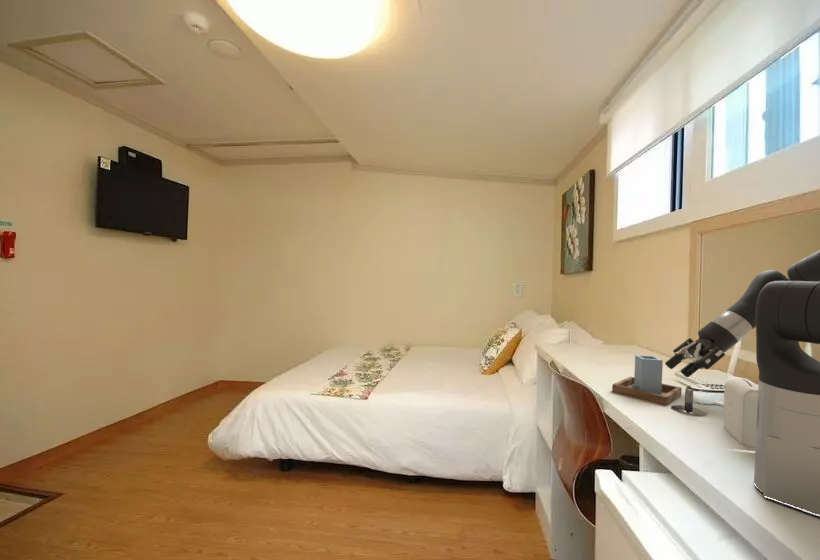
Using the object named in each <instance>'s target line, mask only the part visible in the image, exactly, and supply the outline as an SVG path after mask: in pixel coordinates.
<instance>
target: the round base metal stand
mask: <svg viewBox="0 0 820 560" xmlns="http://www.w3.org/2000/svg"><path fill="white" fill-rule="evenodd" d="M684 392H685V393H684V405H681V404H673V405H670V409H671V410H672V411H674V412H677V413H679V414H683V415H686V416H691V417H706V416H708V413H707V412H706V411H704V410H702V409H700V408H696V407H693V406H694V389H692V388H684Z"/></svg>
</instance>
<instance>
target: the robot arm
mask: <svg viewBox="0 0 820 560" xmlns="http://www.w3.org/2000/svg"><path fill="white" fill-rule="evenodd" d="M786 274H787V276H786V275H785V274H783V273H782V272H780V271H778V270H777V269H767V270H764V271H761V272H760V273H758V274H757V275H756V276H755V277H754V278H753V279H752V281H751V282H750V284H749V286H748V287H747V288H746V291H745V292H744V293H743V295H742V296H741V297H740V298H739V299H738V300H736V302H735V303H734V304H732V305H731V306H730V307H728V308H727V309H726V310H725V311H723V312H722V313H720V314H718V315H717V316H715V318H713V319H711V320H710V322H708V323H707V324H706V325H705V326H703V327H702V328H701V329H699V330H698V331H697V335H698V339H696V340H693V339H692V338H688V339H686V340H685V341H683V342H682V343H681V344H680V345H678V346H677V347H676V348H674V349H673V350H672V352H673V353H674V355H673V356H672V357H670V358H669V359H668V360H666V361H665V362H664V365H666V367H667V368H668V369H670V370H673V369H674V368H676V367H677V365H679V364H681V362H683V361H685V360H687V359H690V360H692V361H691V362H689V363H688V364H687V365H685V366H684V367H683V368H681V369H680V373H681V374H682V375H683V376H684V377H686V378H689V377H691V376H692V375H693V374H695V372H696V373H697V371H698V370H702V369H705V370H709V369H710V368H711V367H713V366H714V365H715V364H716V363H717V362H718V361H720V360H721V359H722V358H723V357H724V356H725V355H726V352H727V351H729V350H730V349H731V348H732V347H734V346H735V345H736V344H737V343H739V342H740V341H742V339H744V338H745V337H746V336H747V335H748V334H749V333H750V332H751V331H752V330H754V329H755V342H756V351H755V352H756V354H755V357H756V364H757V367H758V387H759V389H758V407H757V427H756V447H754V449H755V450H754V452H755V453H754V472H753V473H754V475H753V484H754V483H755V484H756V486H757V487H758V488H759V489H760V490H761V491H762V492H763V494H762V496H763V495H764V496H767V497H770V498H773V499H776V500H778V501H781V502H783V503H787V504H790V505H793V506H795V507H799V508H801V509H805V510H807V511H810V512H812V513H815V514H819V515H820V361H819V360H817V359H815V358H814V357H812V356H810V355H809V354H808V353H807V352H805V351H804V350H803V349H802V348H801V346H800V342H802V343H808V344H809V343H810V344H813V345H814V344H816V345H820V249H819V250H817V251H815V252H813V253H811V254H809V255H808V256H805V257H804V258H803V259H801V260H799V261H796V262H794V263H793V264H791V266H789V267H788V268H787V272H786Z"/></svg>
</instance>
